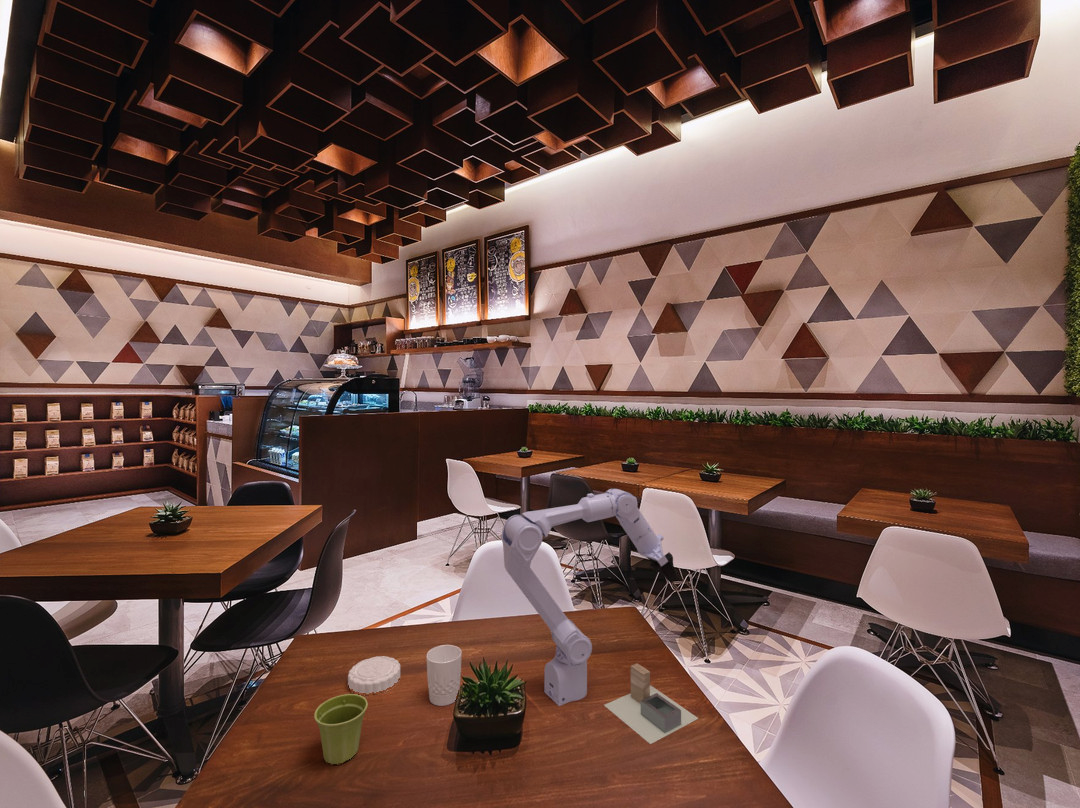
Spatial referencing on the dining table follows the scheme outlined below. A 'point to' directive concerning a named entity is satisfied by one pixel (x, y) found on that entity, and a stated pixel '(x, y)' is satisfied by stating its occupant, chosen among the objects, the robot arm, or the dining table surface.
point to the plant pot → (340, 726)
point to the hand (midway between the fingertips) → (666, 572)
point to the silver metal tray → (661, 712)
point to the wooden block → (640, 683)
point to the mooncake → (374, 674)
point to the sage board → (632, 717)
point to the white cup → (443, 674)
